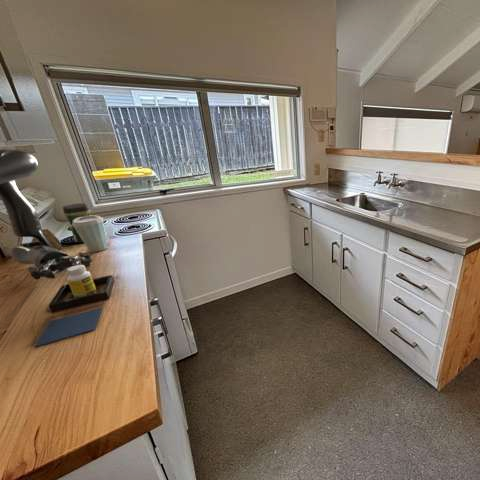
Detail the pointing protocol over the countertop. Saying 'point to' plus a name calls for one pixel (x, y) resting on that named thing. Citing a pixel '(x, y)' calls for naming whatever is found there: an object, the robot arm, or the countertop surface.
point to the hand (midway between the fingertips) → (70, 269)
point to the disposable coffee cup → (91, 232)
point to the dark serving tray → (60, 305)
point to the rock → (50, 239)
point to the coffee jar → (76, 216)
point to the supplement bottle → (80, 281)
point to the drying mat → (69, 326)
